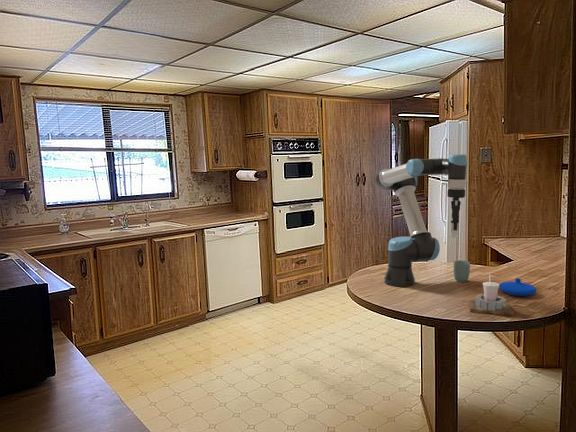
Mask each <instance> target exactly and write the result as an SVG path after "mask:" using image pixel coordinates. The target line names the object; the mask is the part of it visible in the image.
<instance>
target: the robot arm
mask: <svg viewBox="0 0 576 432" xmlns="http://www.w3.org/2000/svg"><path fill="white" fill-rule="evenodd" d="M467 160H468V158H467V155H466V154H450V155H449V156H448V158H443V157H440V158H413V159H411V158H410V159H409V160H408V161H407V162H406V163H404V164H401V165H399V166H396V167H393V168H384V169H382V170H381V169H380V170H379V171H378V172H377V173H376V175H375V176H374V177H375V179H374V181H375V184H376V186H377V187H378V188H380V189H381V190H385V191H393V193H394V196H396V197H398V200H399V203H400V205H401V209H402V212H403V216H404V219H405V222H406V225H407V228H408V232H409V236H396V237H393V238H391V239H390V240H389V241H388V247H387V250H388V253H387V254H388V260H387V261H388V262H387V263H388V266H387V270H386V273H385V275H384V284H385V285H388V286H393V287H401V288H402V287H404V288H405V287H411V286H414V285H415V283H416V281H415V279H416V278H415V275H414V272H413V269H412V267H413V264H412V263H416V262H429V261H434V260H436V259H437V257H438V256H439V255H440V248H441V245H440V242H439V240H438V239H437V238H436V237H433V236H432V234H431V232H430V231H428V230H427V228H426V225H425V222H424V218H423V216H422V212H421V210H420V207H419V203H418V200H417V198H416V194H415V191H416V189H417V186H418V177H420V176H437V175H440V176H441V175H443V176H445V175H446V176H448V177H447V188H448V189H447V197H448V198H452V200H451V201H450V208H451V220H450V226H451V228H450V232H451V236H450V237H451V238H459V223H460V210H461V200H460V199H463V198H465V197H466V184H467V183H468V182H467V165H468V161H467Z"/></svg>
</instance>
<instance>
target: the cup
mask: <svg viewBox="0 0 576 432" xmlns="http://www.w3.org/2000/svg"><path fill="white" fill-rule="evenodd" d="M470 268H471V263H470V261H468V260H454V261H453V279H455V281H457V282H459V283H460V282H461V283H465V282H467V281H468V280H469V277H470V273H471V270H470Z"/></svg>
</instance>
